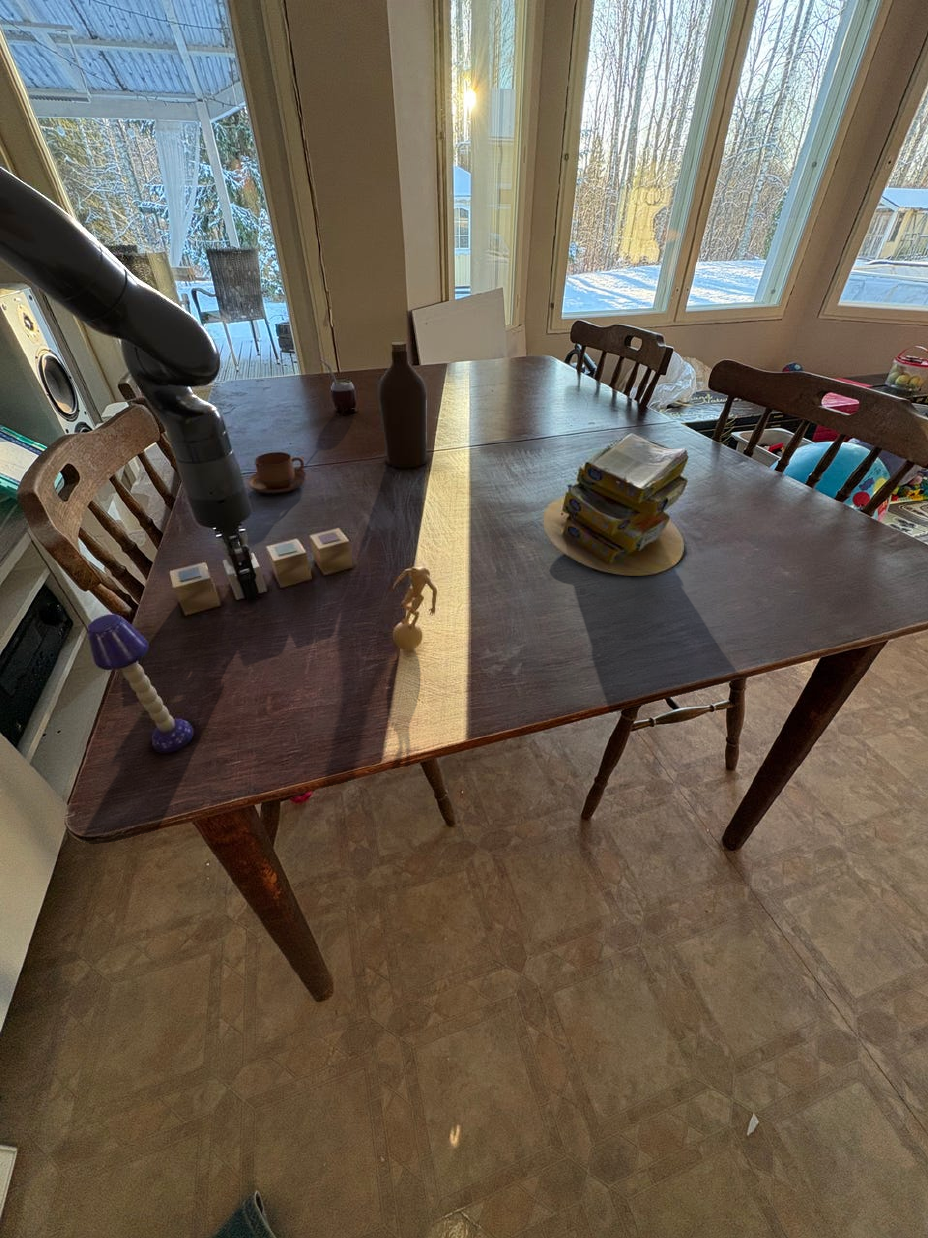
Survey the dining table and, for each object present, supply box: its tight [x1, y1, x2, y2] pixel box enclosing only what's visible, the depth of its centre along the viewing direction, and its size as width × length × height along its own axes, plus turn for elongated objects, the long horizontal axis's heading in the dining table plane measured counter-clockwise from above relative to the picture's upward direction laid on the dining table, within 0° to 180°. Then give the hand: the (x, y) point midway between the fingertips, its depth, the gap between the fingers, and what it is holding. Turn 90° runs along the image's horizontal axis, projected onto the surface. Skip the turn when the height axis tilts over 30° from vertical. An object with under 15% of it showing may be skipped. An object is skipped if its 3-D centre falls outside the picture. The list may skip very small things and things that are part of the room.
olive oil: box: [377, 341, 428, 469], centre depth 113 cm, size 11×11×25 cm
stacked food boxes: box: [542, 432, 689, 577], centre depth 87 cm, size 25×25×17 cm
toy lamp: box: [86, 613, 195, 754], centre depth 52 cm, size 5×5×17 cm
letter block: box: [222, 552, 268, 600], centre depth 79 cm, size 5×5×5 cm
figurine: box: [392, 565, 438, 651], centre depth 66 cm, size 8×6×12 cm
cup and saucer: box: [247, 451, 308, 494], centre depth 108 cm, size 12×12×6 cm
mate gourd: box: [318, 358, 357, 416], centre depth 146 cm, size 8×8×15 cm
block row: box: [169, 527, 354, 616], centre depth 80 cm, size 26×5×5 cm, turn 120°
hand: (247, 586), depth 80 cm, fingers open, 5 cm apart
